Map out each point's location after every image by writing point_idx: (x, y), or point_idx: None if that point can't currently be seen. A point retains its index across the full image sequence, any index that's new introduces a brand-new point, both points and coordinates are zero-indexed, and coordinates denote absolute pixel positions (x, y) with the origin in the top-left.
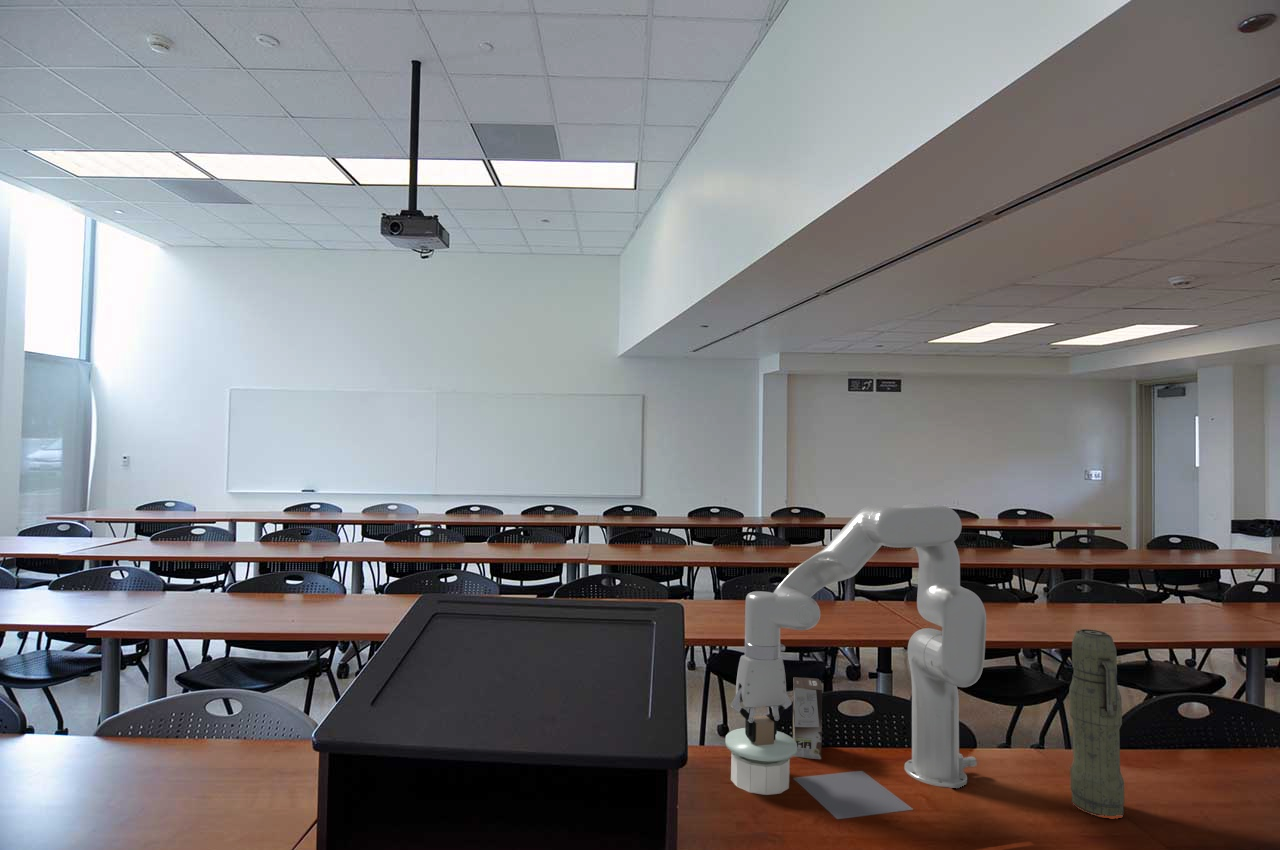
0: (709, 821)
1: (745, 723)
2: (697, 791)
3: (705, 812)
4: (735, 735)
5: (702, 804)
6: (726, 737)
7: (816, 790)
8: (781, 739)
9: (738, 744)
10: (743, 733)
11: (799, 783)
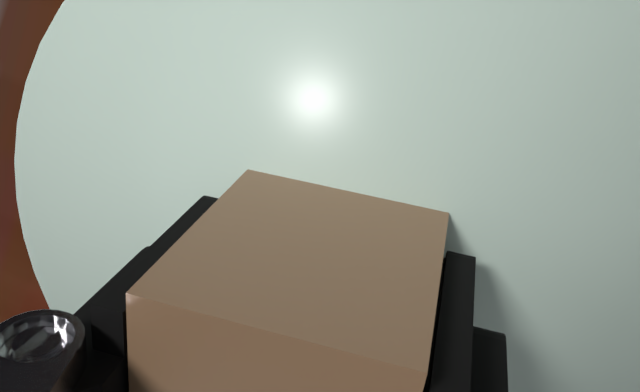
0: (11, 309)
1: (84, 307)
2: (19, 82)
3: (11, 254)
4: (147, 57)
5: (14, 197)
6: (39, 71)
7: None
8: (568, 341)
9: (95, 247)
10: (257, 42)
11: None
